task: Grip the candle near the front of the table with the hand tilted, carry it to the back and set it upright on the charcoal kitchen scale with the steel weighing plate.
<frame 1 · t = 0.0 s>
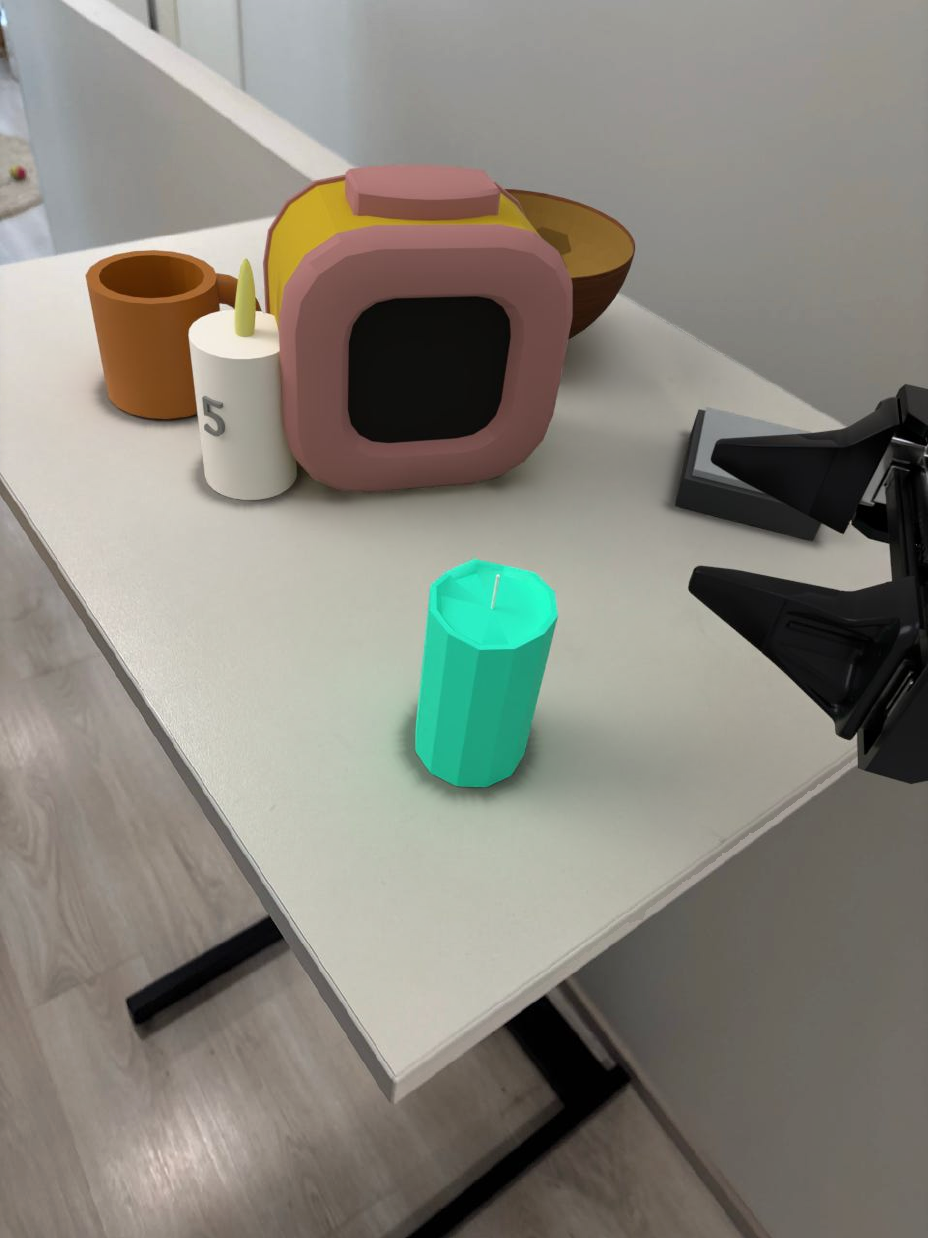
hand: (703, 508, 38), 17 cm above the table, tool horizontal, fingers open, 9 cm apart
candle 2: (250, 475, 64), on the table
candle: (469, 744, 49), on the table
mug: (189, 390, 71), on the table
scale: (747, 485, 69), on the table
bowl: (510, 344, 81), on the table
alarm clock: (404, 454, 68), on the table
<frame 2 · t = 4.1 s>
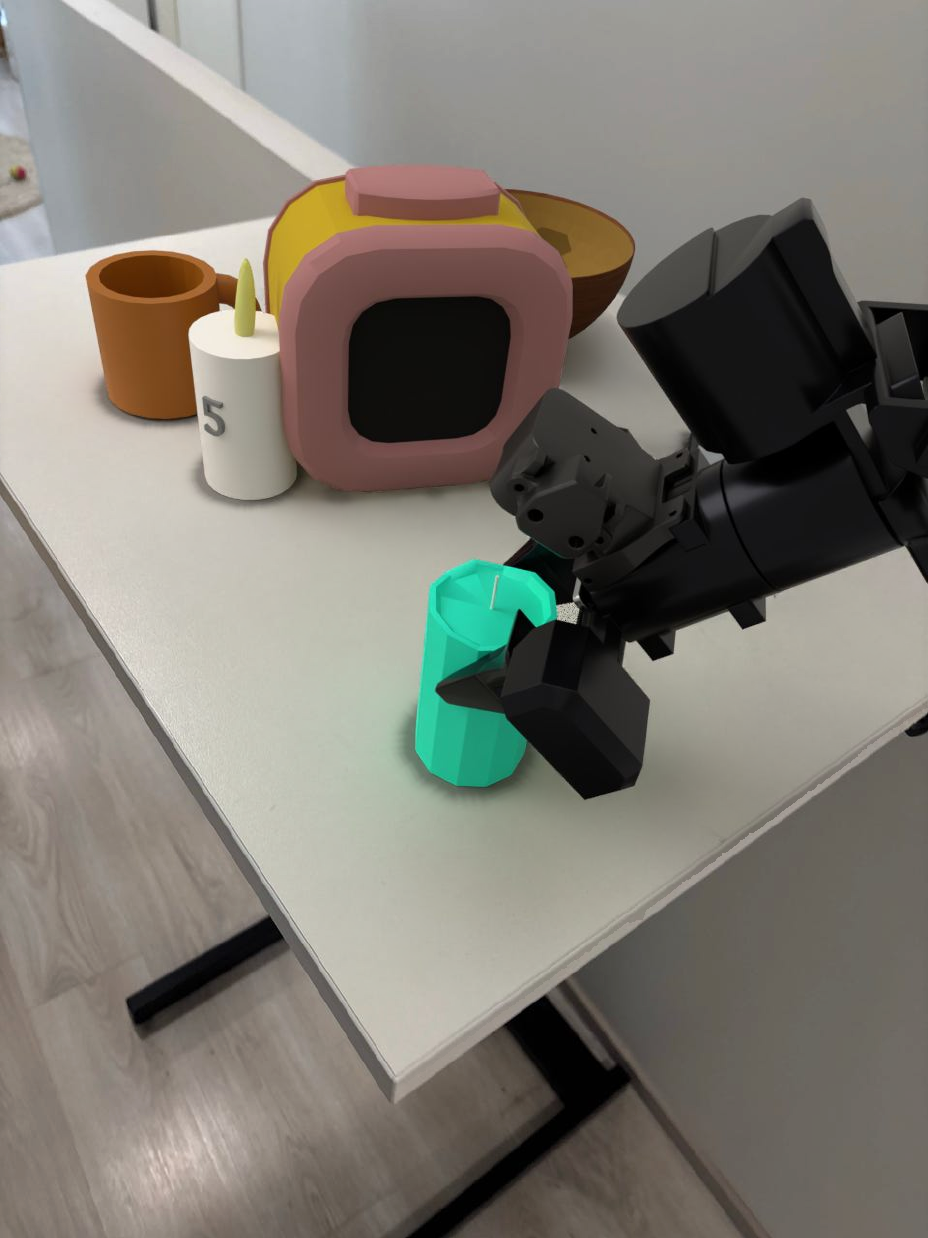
hand: (456, 649, 45), 7 cm above the table, tool tilted 45°, fingers closed on candle, 6 cm apart
candle: (469, 743, 49), on the table, touching gripper
everything else where it was.
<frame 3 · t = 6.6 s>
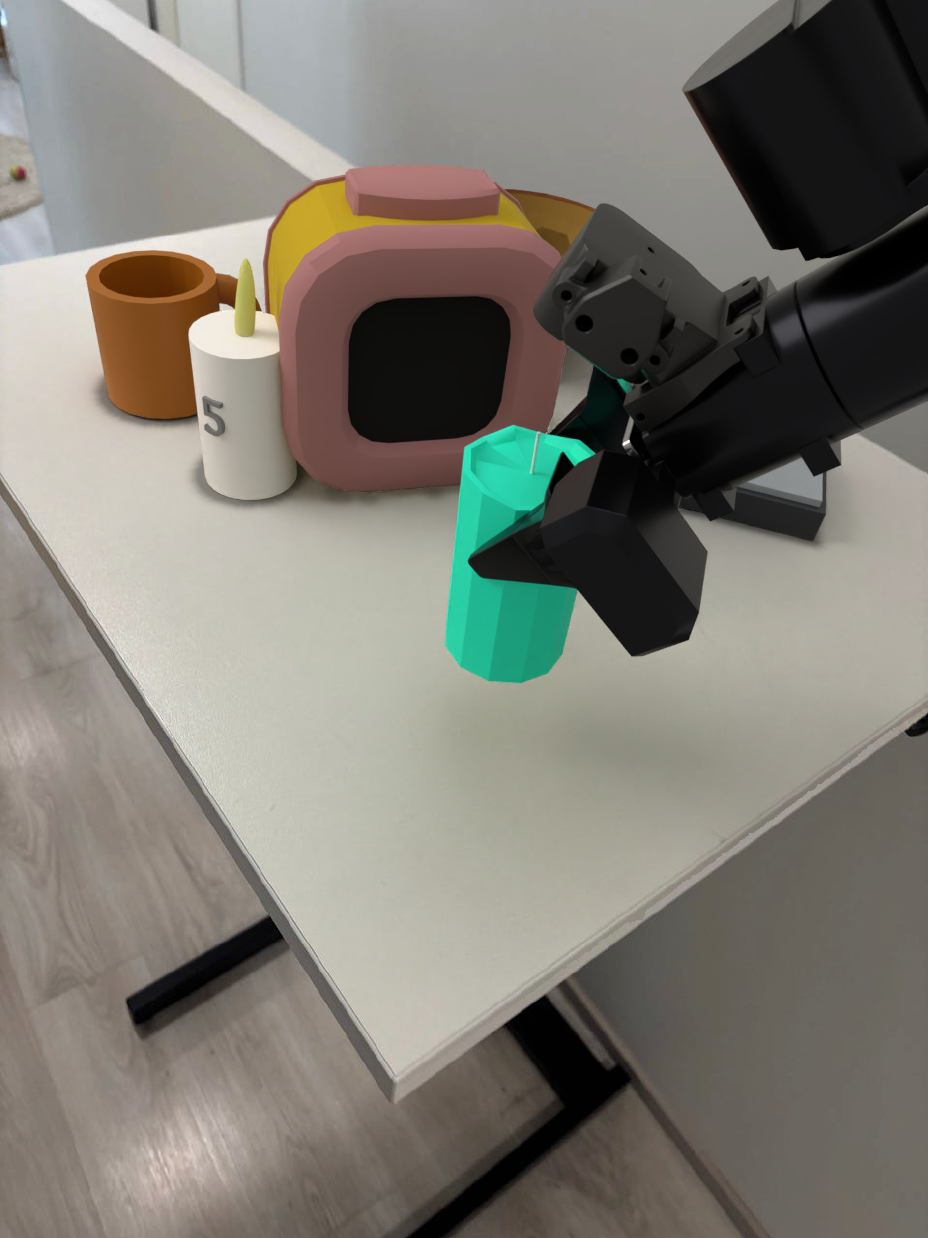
hand: (492, 525, 41), 13 cm above the table, tool tilted 45°, fingers closed on candle, 6 cm apart
candle: (503, 641, 45), point 6 cm above the table, touching gripper
everything else where it was.
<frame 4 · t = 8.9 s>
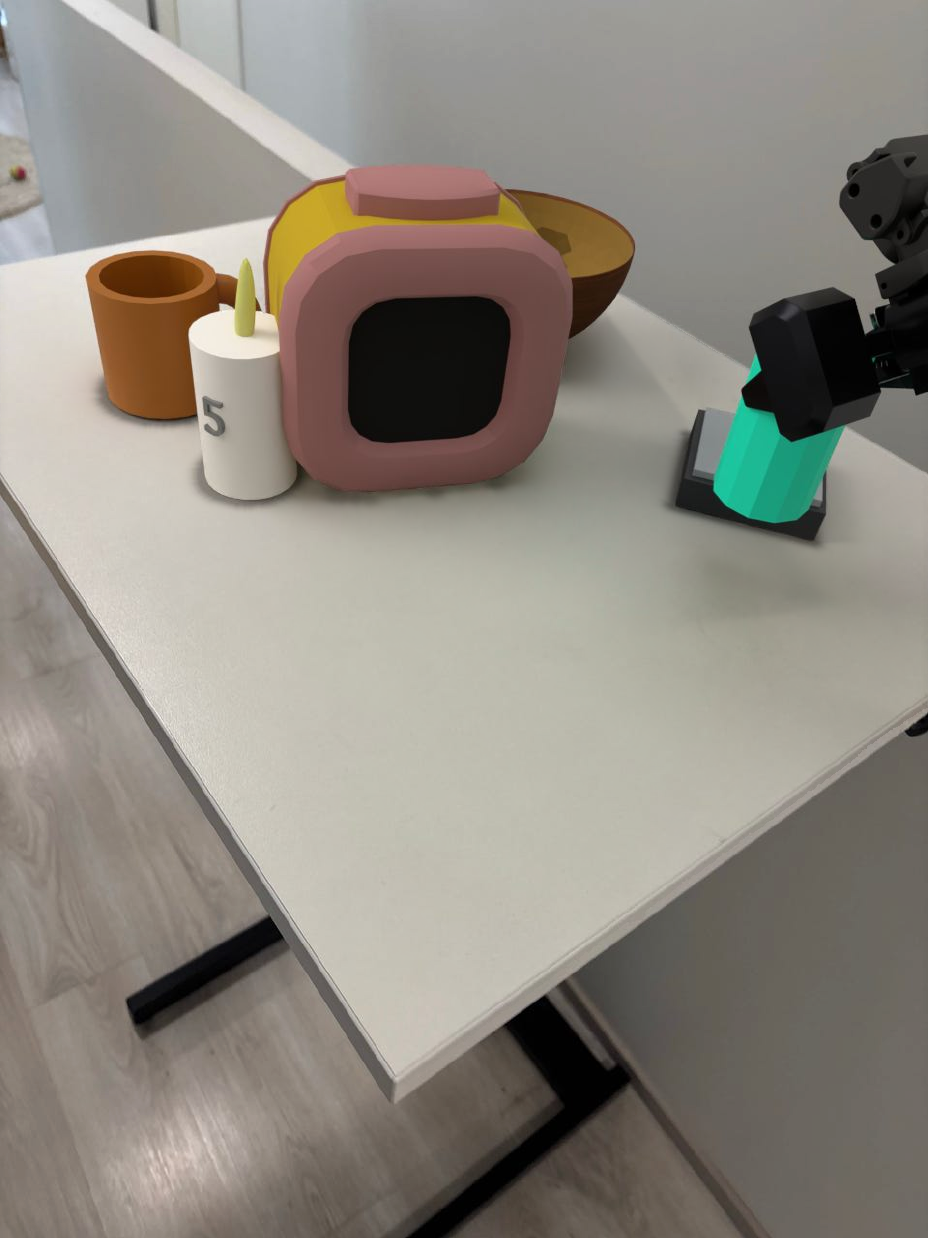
hand: (781, 386, 53), 13 cm above the table, tool tilted 45°, fingers closed on candle, 6 cm apart
candle: (759, 495, 57), point 7 cm above the table, touching gripper
everything else where it was.
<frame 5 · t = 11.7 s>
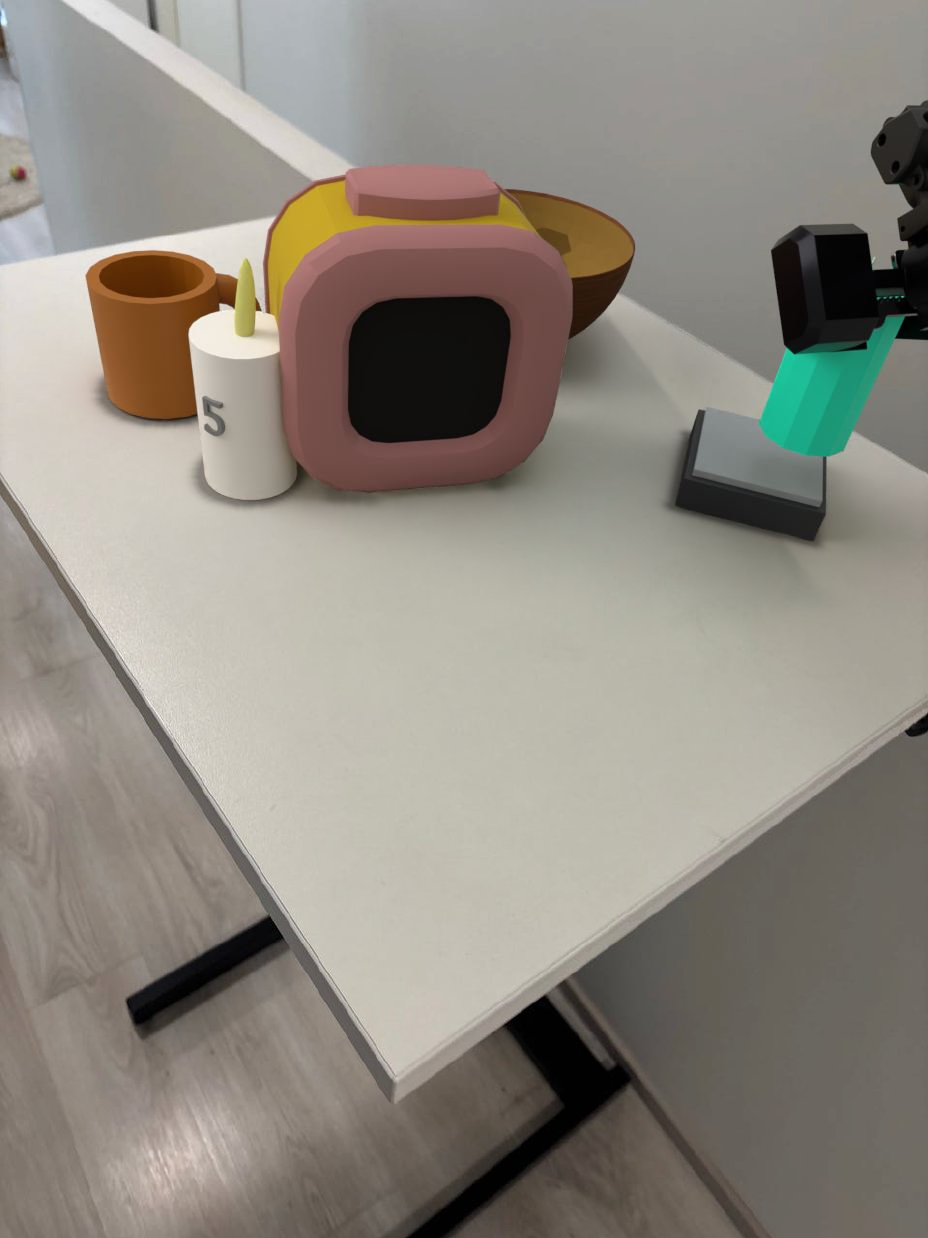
hand: (829, 331, 58), 13 cm above the table, tool tilted 45°, fingers closed on candle, 6 cm apart
candle: (801, 434, 62), point 7 cm above the table, touching gripper
everything else where it was.
when the fingers open (10 cm above the table, at t = 14.1 s): candle stays where it is, resting on scale.
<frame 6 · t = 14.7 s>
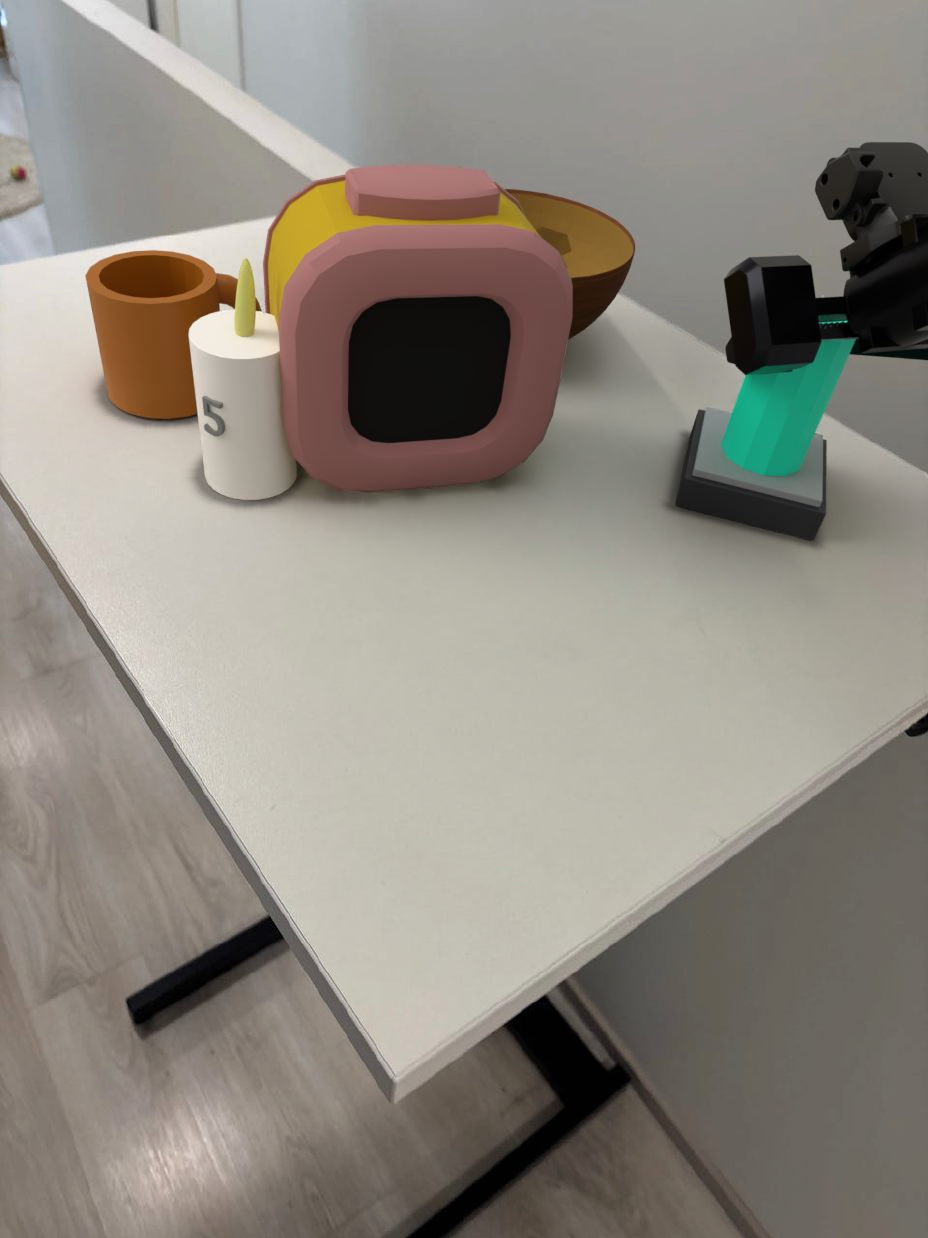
hand: (785, 349, 63), 10 cm above the table, tool tilted 45°, fingers open, 9 cm apart
candle: (760, 454, 67), point 3 cm above the table, touching scale
everything else where it was.
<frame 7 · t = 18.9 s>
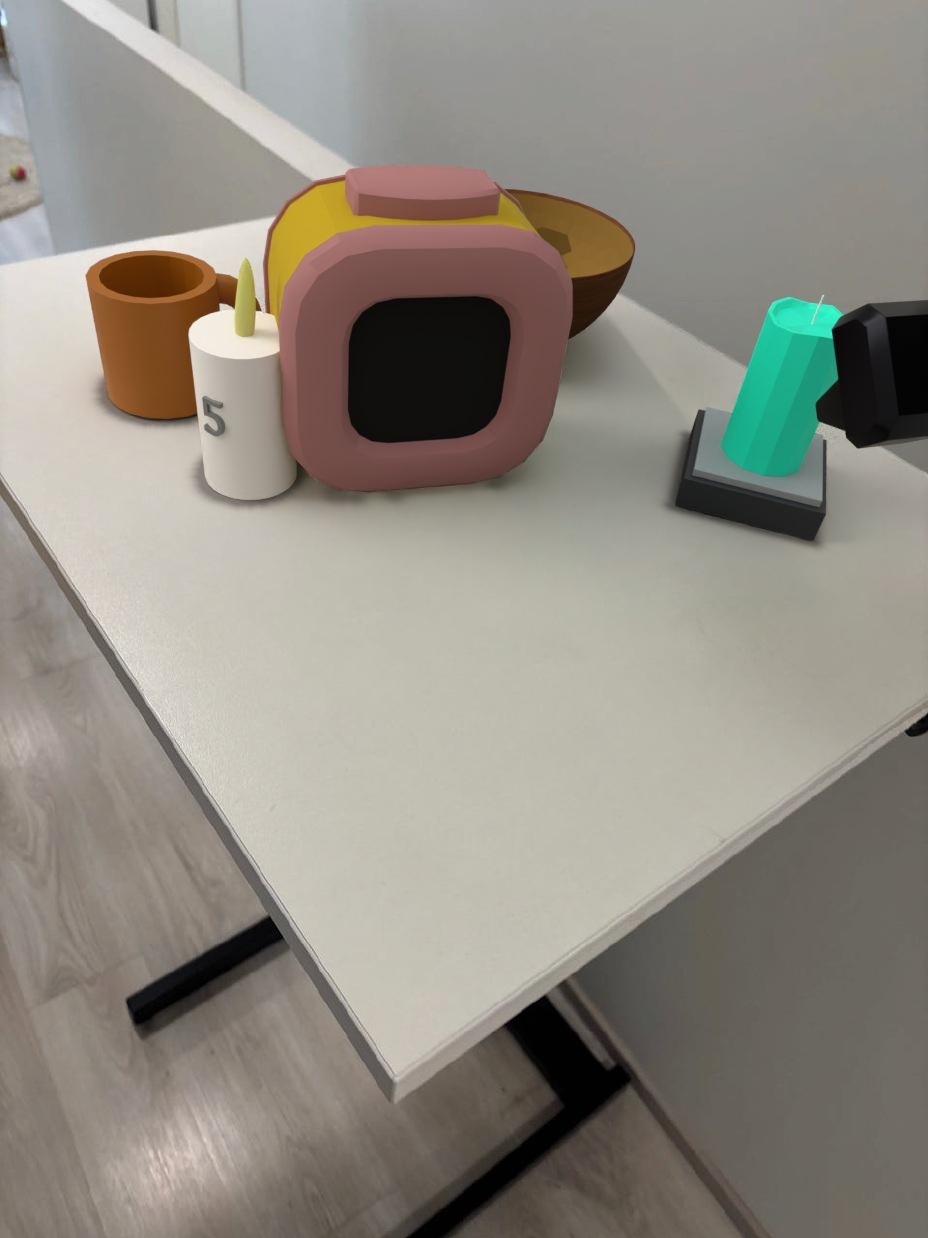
hand: (885, 405, 52), 14 cm above the table, tool tilted 45°, fingers open, 9 cm apart
nothing on the table moved.
at the end: candle 0.2 cm off-centre on the scale, point 2.9 cm above the scale's base; candle tilted 0°; the gripper is holding nothing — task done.
